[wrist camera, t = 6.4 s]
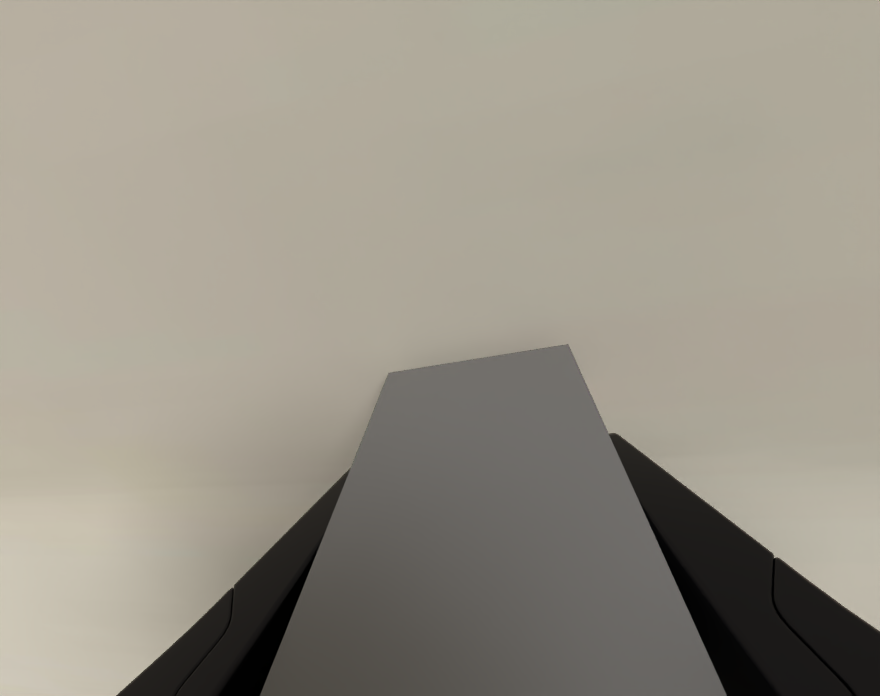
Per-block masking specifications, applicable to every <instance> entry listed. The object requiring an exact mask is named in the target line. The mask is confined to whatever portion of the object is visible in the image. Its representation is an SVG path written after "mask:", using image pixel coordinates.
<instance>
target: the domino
mask: <svg viewBox="0 0 880 696" xmlns="http://www.w3.org/2000/svg"><path fill="white" fill-rule="evenodd" d="M260 696H727V695H726V693H725V690H724V688H723V686H722V684H721V682H720V679H719V677H718V675H717V673H716V670H715V668H714V666H713V664H712V662H711V659H710V657H709V655H708V653H707V651H706V648H705V646H704V644H703V642H702V640H701V637H700V635H699V633H698V631H697V628H696V626H695V624H694V622H693V620H692V617H691V615H690V613H689V611H688V609H687V606H686V604H685V602H684V600H683V597H682V595H681V593H680V591H679V589H678V586H677V584H676V582H675V580H674V578H673V575H672V573H671V571H670V569H669V566H668V564H667V562H666V560H665V558H664V555H663V553H662V551H661V549H660V547H659V544H658V542H657V540H656V538H655V535H654V533H653V531H652V529H651V527H650V524H649V522H648V520H647V518H646V516H645V513H644V511H643V509H642V507H641V505H640V502H639V500H638V498H637V496H636V493H635V491H634V489H633V487H632V485H631V482H630V480H629V478H628V476H627V474H626V471H625V469H624V467H623V465H622V462H621V460H620V458H619V456H618V454H617V451H616V449H615V447H614V445H613V443H612V440H611V438H610V436H609V434H608V431H607V429H606V427H605V425H604V423H603V420H602V418H601V416H600V414H599V412H598V409H597V407H596V405H595V403H594V400H593V398H592V396H591V394H590V392H589V389H588V387H587V385H586V383H585V381H584V378H583V376H582V374H581V372H580V370H579V367H578V365H577V363H576V361H575V358H574V356H573V354H572V352H571V350H570V347H569V345H568V344H567V345H561V346H555V347H548V348H542V349H536V350H530V351H523V352H517V353H511V354H505V355H498V356H492V357H486V358H480V359H473V360H467V361H461V362H455V363H448V364H442V365H436V366H429V367H423V368H417V369H411V370H404V371H398V372H392V373H389V374H388V376H387V379H386V381H385V384H384V386H383V389H382V391H381V394H380V396H379V399H378V401H377V404H376V406H375V409H374V411H373V414H372V416H371V419H370V421H369V424H368V426H367V429H366V431H365V434H364V436H363V439H362V441H361V444H360V446H359V449H358V451H357V454H356V456H355V459H354V461H353V464H352V466H351V469H350V471H349V474H348V476H347V479H346V481H345V484H344V486H343V489H342V491H341V494H340V496H339V499H338V501H337V504H336V506H335V509H334V511H333V514H332V516H331V519H330V521H329V524H328V526H327V529H326V531H325V534H324V536H323V539H322V541H321V544H320V546H319V549H318V551H317V554H316V556H315V559H314V561H313V564H312V566H311V569H310V571H309V574H308V576H307V579H306V581H305V584H304V586H303V589H302V591H301V594H300V596H299V599H298V601H297V604H296V606H295V609H294V612H293V614H292V617H291V619H290V622H289V624H288V627H287V629H286V632H285V634H284V637H283V639H282V642H281V644H280V647H279V649H278V652H277V654H276V657H275V659H274V662H273V664H272V667H271V669H270V672H269V674H268V677H267V679H266V682H265V684H264V687H263V689H262V692H261V694H260Z"/></svg>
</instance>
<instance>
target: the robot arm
mask: <svg viewBox="0 0 880 696" xmlns="http://www.w3.org/2000/svg"><path fill="white" fill-rule="evenodd" d="M609 436H610V438H611V440H612V443H613V445H614V447H615V449H616V451H617V454H618V456H619V458H620V460H621V462H622V465H623V467H624V469H625V471H626V474H627V476H628V478H629V480H630V482H631V485H632V487H633V489H634V491H635V493H636V496H637V498H638V500H639V502H640V505H641V507H642V509H643V511H644V513H645V516H646V518H647V520H648V522H649V524H650V527H651V529H652V531H653V533H654V535H655V538H656V540H657V542H658V544H659V547H660V549H661V551H662V553H663V555H664V558H665V560H666V562H667V564H668V566H669V569H670V571H671V573H672V575H673V578H674V580H675V582H676V584H677V586H678V589H679V591H680V593H681V595H682V597H683V600H684V602H685V604H686V606H687V609H688V611H689V613H690V615H691V617H692V620H693V622H694V624H695V626H696V628H697V631H698V633H699V635H700V637H701V640H702V642H703V644H704V646H705V648H706V651H707V653H708V655H709V657H710V659H711V662H712V664H713V666H714V668H715V670H716V673H717V675H718V677H719V679H720V682H721V684H722V686H723V688H724V690H725V693H726V695H727V696H880V631H878V630H877V629H875V628H874V627H873V626H871V625H870V624H868V623H867V622H865V621H864V620H862V619H861V618H859V617H858V616H857V615H855V614H854V613H852V612H851V611H849V610H848V609H846V608H845V607H844V606H842V605H841V604H840V603H838V602H837V601H836V600H834V599H833V598H831V597H830V596H829V595H827V594H826V593H825V592H823V591H822V590H821V589H819V588H818V587H817V586H815V585H814V584H813V583H811V582H810V581H808V580H807V579H806V578H804V577H803V576H802V575H800V574H799V573H798V572H797V571H795V570H794V569H793V568H791V567H790V566H789V565H787V564H786V563H785V562H784V561H782V560H781V559H780V558H774V555H773V553H772V552H770V551H769V550H768V549H766V548H765V547H764V546H762V545H761V544H760V543H759V542H757V541H756V540H755V539H753V538H752V537H751V536H749V535H748V534H747V533H746V532H744V531H743V530H742V529H740V528H739V527H738V526H736V525H735V524H734V523H733V522H731V521H730V520H729V519H727V518H726V517H725V516H723V515H722V514H721V513H720V512H718V511H717V510H716V509H714V508H713V507H712V506H710V505H709V504H708V503H707V502H705V501H704V500H703V499H701V498H700V497H699V496H697V495H696V494H695V493H694V492H692V491H691V490H690V489H688V488H687V487H686V486H684V485H683V484H682V483H681V482H679V481H678V480H677V479H675V478H674V477H673V476H671V475H670V474H669V473H668V472H666V471H665V470H664V469H662V468H661V467H660V466H658V465H657V464H656V463H655V462H653V461H652V460H651V459H649V458H648V457H647V456H645V455H644V454H643V453H641V452H640V451H639V450H638V449H636V448H635V447H634V446H632V445H631V444H630V443H628V442H627V441H626V440H625V439H623V438H622V437H621V436H619V435H618V434H616V433H610V434H609ZM350 469H351V468H350ZM350 469H349V470H348V471H347V472H346V473H345V474H344V475H343V476H342V477H341V478H340V479H339V480H338V481H337V482H336V483H335V484H334V485H333V486H332V487H331V488H330V489H329V490H328V491H327V492H326V493H325V494H324V495H323V496H322V497H321V498H320V499H319V500H318V501H317V502H316V503H315V504H314V505H313V506H312V507H311V508H310V509H309V510H308V511H307V512H306V513H305V514H304V515H303V516H302V517H301V518H300V519H299V520H298V521H297V522H296V523H295V524H294V525H293V526H292V527H291V528H290V529H289V530H288V532H287V533H286V534H285V535H284V536H283V537H282V538H281V539H280V540H279V541H278V542H277V543H276V544H275V545H274V546H273V547H272V548H271V549H270V550H269V551H268V552H267V553H266V554H265V555H264V556H263V557H262V558H261V559H260V560H259V561H258V562H257V563H256V564H255V565H254V566H253V567H252V568H251V569H250V570H249V571H248V572H247V573H246V574H245V575H244V576H243V577H242V578H241V579H240V580H239V581H238V582H237V583H236V584H235V585H234V588H231V589H230V590H229V591H228V592H227V593H226V594H225V595H224V596H223V597H222V598H221V599H220V600H219V601H218V602H217V603H216V604H215V605H214V606H213V607H212V608H211V609H210V610H209V611H208V612H207V613H206V614H205V615H204V616H202V617H201V618H200V619H199V620H198V621H197V622H196V623H195V624H194V625H193V626H192V627H191V628H190V629H189V630H188V631H187V632H186V633H185V634H184V635H183V636H182V637H180V638H179V639H178V640H177V641H176V642H175V643H174V644H173V645H172V646H171V647H170V648H169V649H167V650H166V651H165V652H164V653H163V654H162V655H161V656H160V657H159V658H158V659H157V660H155V661H154V662H153V663H152V664H151V665H150V666H149V667H148V668H147V669H145V670H144V671H143V672H142V673H141V674H140V675H139V676H138V677H137V678H135V679H134V680H133V681H132V682H131V683H130V684H129V685H128V686H126V687H125V688H124V689H123V690H122V691H121V692H120V693H119V694H118V695H116V696H260V694H261V692H262V689H263V687H264V684H265V682H266V679H267V677H268V674H269V672H270V669H271V667H272V664H273V662H274V659H275V657H276V654H277V652H278V649H279V647H280V644H281V642H282V639H283V637H284V634H285V632H286V629H287V627H288V624H289V622H290V619H291V617H292V614H293V612H294V609H295V606H296V604H297V601H298V599H299V596H300V594H301V591H302V589H303V586H304V584H305V581H306V579H307V576H308V574H309V571H310V569H311V566H312V564H313V561H314V559H315V556H316V554H317V551H318V549H319V546H320V544H321V541H322V539H323V536H324V534H325V531H326V529H327V526H328V524H329V521H330V519H331V516H332V514H333V511H334V509H335V506H336V504H337V501H338V499H339V496H340V494H341V491H342V489H343V486H344V484H345V481H346V479H347V476H348V474H349V471H350Z"/></svg>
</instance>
